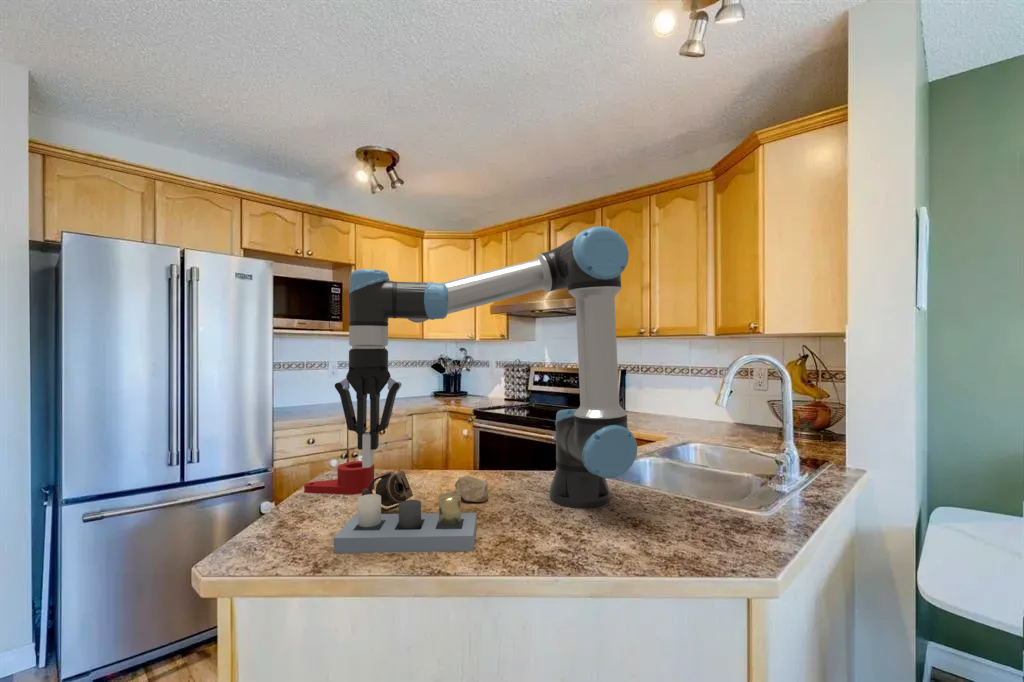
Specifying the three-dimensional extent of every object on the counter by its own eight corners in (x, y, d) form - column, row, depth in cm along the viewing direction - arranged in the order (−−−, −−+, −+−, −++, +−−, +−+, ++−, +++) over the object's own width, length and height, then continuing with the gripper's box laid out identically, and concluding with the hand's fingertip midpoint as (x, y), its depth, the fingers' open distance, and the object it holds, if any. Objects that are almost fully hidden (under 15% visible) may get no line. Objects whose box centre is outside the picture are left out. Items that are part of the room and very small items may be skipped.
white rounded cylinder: (383, 518, 96) (383, 493, 96) (377, 526, 91) (377, 501, 91) (362, 518, 96) (361, 494, 96) (355, 527, 91) (355, 501, 91)
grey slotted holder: (476, 526, 100) (476, 512, 100) (473, 551, 88) (473, 535, 88) (354, 528, 99) (354, 514, 99) (334, 554, 87) (333, 538, 87)
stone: (486, 492, 124) (487, 475, 125) (487, 503, 114) (489, 485, 114) (454, 490, 124) (456, 472, 124) (453, 501, 113) (455, 482, 113)
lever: (377, 484, 131) (376, 460, 131) (371, 494, 122) (370, 469, 122) (309, 487, 129) (309, 462, 129) (298, 498, 120) (298, 472, 120)
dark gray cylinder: (422, 523, 96) (422, 499, 96) (419, 532, 92) (418, 507, 92) (401, 524, 96) (401, 499, 96) (396, 533, 91) (396, 507, 91)
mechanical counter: (401, 522, 103) (401, 476, 103) (348, 518, 105) (348, 473, 105) (415, 510, 110) (414, 468, 110) (365, 507, 112) (364, 465, 112)
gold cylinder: (461, 517, 96) (461, 492, 96) (460, 525, 92) (459, 499, 92) (440, 517, 96) (440, 493, 96) (437, 525, 92) (437, 500, 92)
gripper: (405, 347, 98) (404, 460, 97) (342, 347, 97) (341, 461, 97) (397, 348, 90) (396, 470, 90) (329, 347, 90) (328, 470, 90)
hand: (368, 465), depth 93 cm, fingers closed
